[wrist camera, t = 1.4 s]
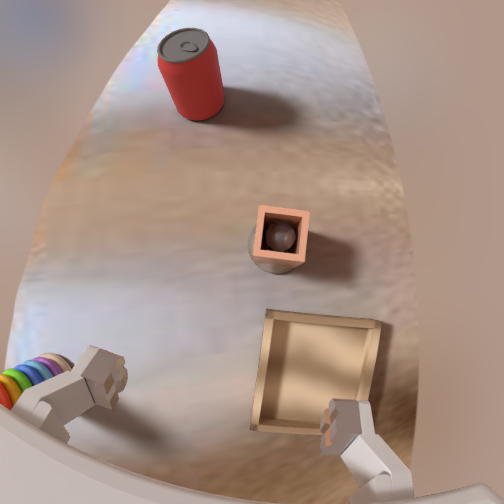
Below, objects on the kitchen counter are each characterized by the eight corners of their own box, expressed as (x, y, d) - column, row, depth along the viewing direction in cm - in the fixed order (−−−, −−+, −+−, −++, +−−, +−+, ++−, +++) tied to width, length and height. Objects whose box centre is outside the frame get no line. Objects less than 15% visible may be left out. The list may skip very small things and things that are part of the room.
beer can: (202, 131, 37) (181, 73, 25) (167, 108, 37) (140, 52, 25) (235, 98, 37) (227, 36, 25) (200, 77, 38) (184, 18, 26)
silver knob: (301, 276, 34) (310, 274, 28) (244, 269, 34) (242, 265, 29) (307, 221, 35) (316, 207, 29) (252, 214, 35) (250, 199, 29)
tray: (352, 424, 32) (359, 434, 29) (250, 419, 32) (250, 429, 29) (372, 319, 33) (381, 321, 30) (266, 308, 34) (266, 310, 31)
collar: (295, 267, 34) (304, 262, 27) (253, 262, 34) (252, 255, 27) (299, 226, 34) (309, 211, 27) (259, 221, 34) (259, 204, 28)
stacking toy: (80, 360, 34) (-22, 395, 15) (80, 413, 33) (-7, 466, 14) (38, 345, 34) (-62, 363, 15) (39, 394, 33) (-50, 430, 14)
